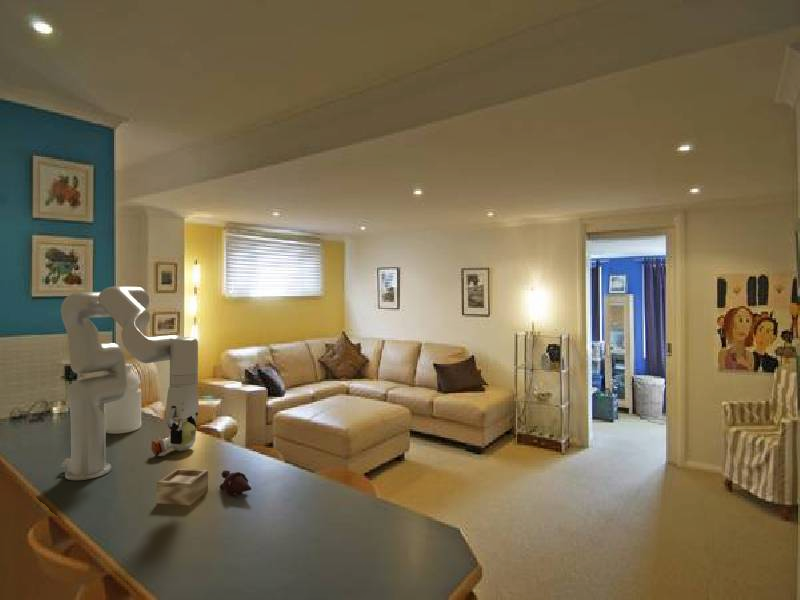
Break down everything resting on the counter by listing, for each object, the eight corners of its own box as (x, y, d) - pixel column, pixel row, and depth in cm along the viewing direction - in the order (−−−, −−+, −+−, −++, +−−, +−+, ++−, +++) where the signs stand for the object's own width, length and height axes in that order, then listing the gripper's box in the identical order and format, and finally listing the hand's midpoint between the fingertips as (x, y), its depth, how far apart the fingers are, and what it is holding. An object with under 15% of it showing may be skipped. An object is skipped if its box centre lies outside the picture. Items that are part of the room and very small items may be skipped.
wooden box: (157, 503, 131) (157, 481, 131) (177, 488, 141) (177, 468, 141) (190, 505, 131) (190, 483, 130) (208, 490, 141) (208, 470, 140)
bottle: (128, 434, 191) (129, 367, 190) (96, 433, 191) (96, 367, 191) (147, 424, 205) (148, 362, 204) (117, 424, 205) (117, 361, 205)
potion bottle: (198, 450, 178) (158, 466, 166) (186, 432, 182) (146, 446, 170) (203, 435, 174) (163, 450, 162) (191, 416, 178) (151, 430, 166)
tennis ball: (190, 424, 133) (196, 417, 139) (166, 427, 132) (173, 420, 138) (193, 445, 133) (200, 437, 140) (169, 449, 132) (177, 441, 139)
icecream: (263, 475, 137) (234, 467, 146) (242, 476, 131) (213, 468, 140) (259, 500, 135) (230, 490, 144) (237, 502, 129) (208, 492, 139)
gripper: (188, 373, 144) (187, 429, 145) (153, 385, 127) (153, 448, 127) (210, 374, 143) (210, 431, 144) (179, 386, 126) (178, 450, 127)
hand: (183, 438), depth 136 cm, fingers closed on tennis ball, 6 cm apart
